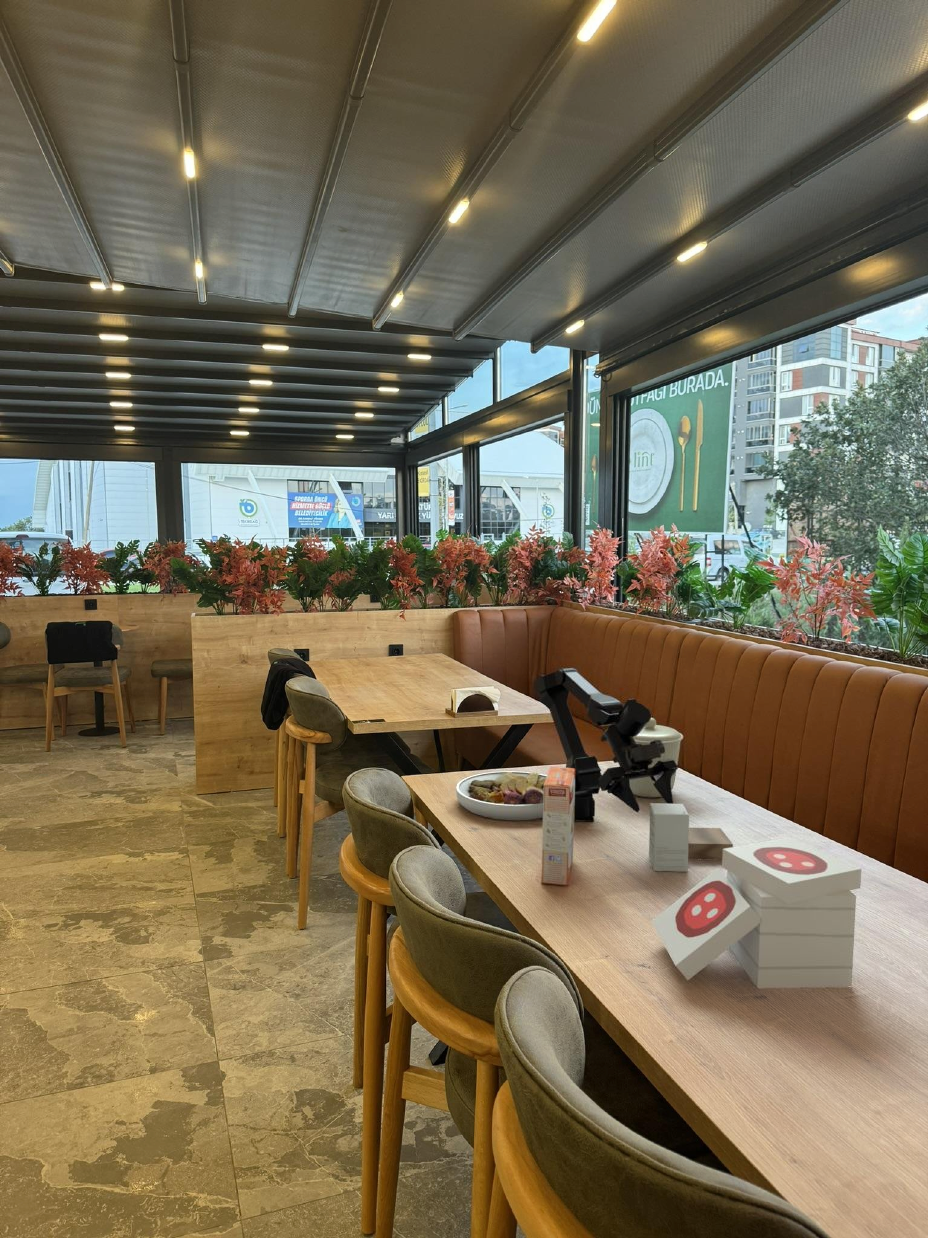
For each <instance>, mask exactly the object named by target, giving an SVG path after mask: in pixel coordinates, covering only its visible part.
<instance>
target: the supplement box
mask: <svg viewBox="0 0 928 1238" xmlns="http://www.w3.org/2000/svg"><path fill="white" fill-rule="evenodd" d="M689 828H690V814H689V812H688V811H687V809H686V807H685V805H684V804H683V803H673V804H667V803H656V802H655V803H653V802H650V803H649V837H648V838H649V841H648V843H649V844H648V859H649V861H650V863H651V866H652V869H653V872H680V873H682V872H683V873H685V872H688V871H689V860H688V842H689Z"/></svg>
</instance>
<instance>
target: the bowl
mask: <svg viewBox="0 0 928 1238" xmlns="http://www.w3.org/2000/svg"><path fill="white" fill-rule="evenodd" d="M546 777H547V774H541V773H538V772H528V771H516V770H515V771H510V770H509V771H507V770H505V771H504V770H503V771H491V772H484V773H479V774H474V775H471V776H468V777H465V778H463V779H461V780H460V781H458V783H457V784H456V787H455V793H456V794H455V795H456V798H457V800H458V802H459V803H460V805H461V806H462V807H464V808H465V810H467V811H469V812H471V813H472V814H475V815H478V816H481V817H484V818H488V819H493V820H501V821H531V820H538V819H543V791H544V783H545V780H546Z"/></svg>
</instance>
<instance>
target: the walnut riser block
mask: <svg viewBox="0 0 928 1238" xmlns="http://www.w3.org/2000/svg"><path fill="white" fill-rule="evenodd" d="M733 845H734V844H733V843H732V841H731V840H730V838H729V837H728V836H727V835H726V833H725V832H724V830H723V829H722V828H721V827H689V842H688V859H693V860H697V861H698V860H699V861H700V859H701V861H722V857H723V849H725V848H731V847H734V846H733Z"/></svg>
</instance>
